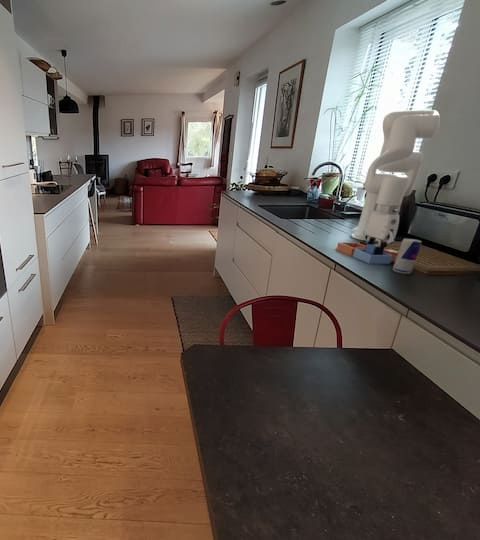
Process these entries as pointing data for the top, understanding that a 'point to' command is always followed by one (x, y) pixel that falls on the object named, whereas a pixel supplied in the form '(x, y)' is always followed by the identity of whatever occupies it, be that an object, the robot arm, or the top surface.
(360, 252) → the blue bin
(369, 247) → the blue block
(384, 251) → the terracotta block
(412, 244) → the energy drink
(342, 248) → the terracotta bin
